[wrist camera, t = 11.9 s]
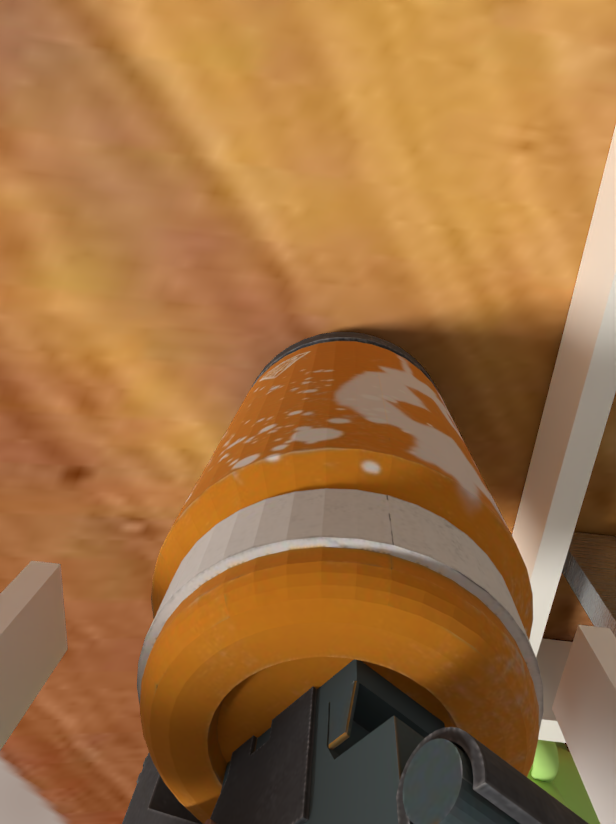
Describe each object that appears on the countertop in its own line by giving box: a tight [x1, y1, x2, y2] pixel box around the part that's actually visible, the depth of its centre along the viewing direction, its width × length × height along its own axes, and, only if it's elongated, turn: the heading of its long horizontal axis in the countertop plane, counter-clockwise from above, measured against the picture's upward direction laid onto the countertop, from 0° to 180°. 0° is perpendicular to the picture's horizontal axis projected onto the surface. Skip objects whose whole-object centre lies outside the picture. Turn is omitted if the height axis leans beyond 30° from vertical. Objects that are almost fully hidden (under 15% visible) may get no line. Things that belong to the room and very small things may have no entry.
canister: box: [122, 332, 589, 824], centre depth 15 cm, size 9×11×20 cm
